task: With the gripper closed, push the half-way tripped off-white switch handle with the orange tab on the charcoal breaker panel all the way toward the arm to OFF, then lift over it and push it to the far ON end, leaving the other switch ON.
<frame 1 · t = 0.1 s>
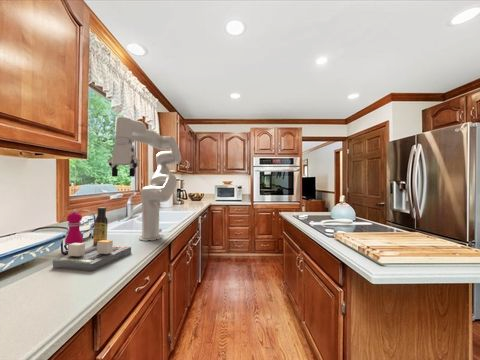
hand: (123, 176, 110), 37 cm above the countertop, tool pointing down, fingers open, 9 cm apart
tripped switch: (104, 246, 95), point 6 cm above the countertop, slide at 0.0 cm
pepper mill: (74, 250, 110), on the countertop
breaker panel: (95, 259, 96), on the countertop
sauce bottle: (100, 244, 121), on the countertop
on switch: (76, 249, 92), point 6 cm above the countertop, slide at 5.0 cm
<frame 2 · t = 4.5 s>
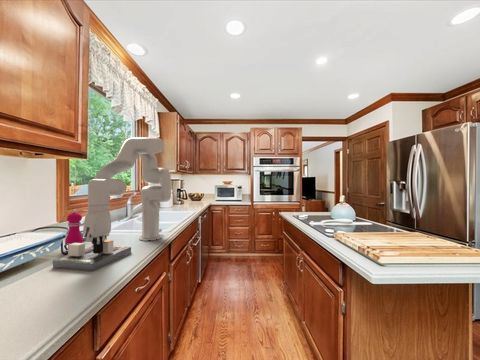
hand: (98, 252, 91), 4 cm above the countertop, tool pointing down, fingers closed
tripped switch: (105, 246, 95), point 6 cm above the countertop, slide at -0.5 cm, touching gripper
everything else where it was.
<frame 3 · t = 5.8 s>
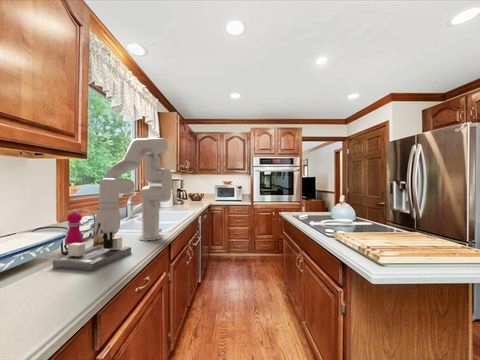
hand: (108, 248, 97), 5 cm above the countertop, tool pointing down, fingers closed
tripped switch: (114, 243, 101), point 6 cm above the countertop, slide at -5.7 cm, touching gripper
everything else where it was.
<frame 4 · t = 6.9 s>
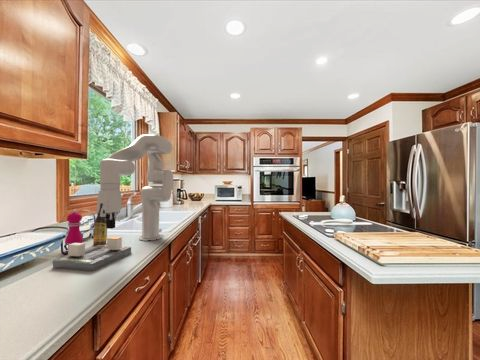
hand: (110, 228, 98), 13 cm above the countertop, tool pointing down, fingers closed
tripped switch: (114, 243, 100), point 6 cm above the countertop, slide at -5.6 cm
everything else where it was.
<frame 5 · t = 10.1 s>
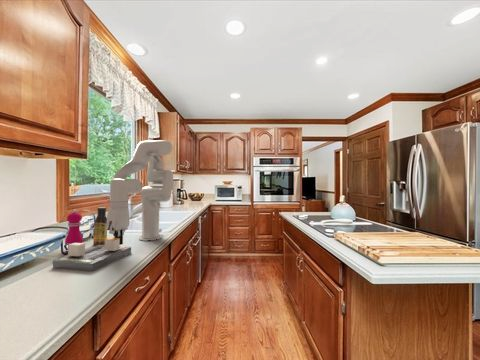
hand: (118, 244, 103), 5 cm above the countertop, tool pointing down, fingers closed
tripped switch: (112, 244, 99), point 6 cm above the countertop, slide at -4.2 cm, touching gripper
everything else where it was.
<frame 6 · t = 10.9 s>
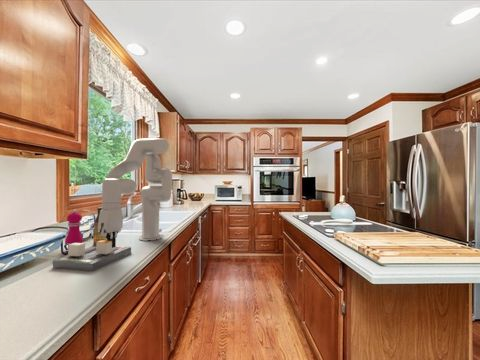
hand: (111, 247, 98), 5 cm above the countertop, tool pointing down, fingers closed
tripped switch: (104, 247, 95), point 6 cm above the countertop, slide at 0.4 cm, touching gripper
everything else where it was.
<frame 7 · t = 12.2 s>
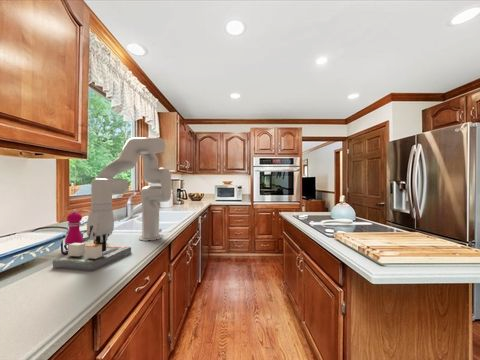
hand: (101, 250, 93), 5 cm above the countertop, tool pointing down, fingers closed
tripped switch: (93, 250, 89), point 6 cm above the countertop, slide at 5.9 cm, touching gripper
everything else where it was.
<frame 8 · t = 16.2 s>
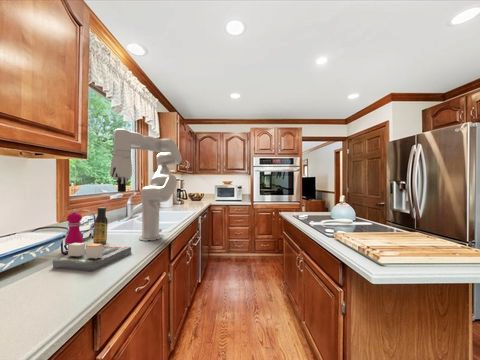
hand: (121, 191, 108), 29 cm above the countertop, tool pointing down, fingers closed
tripped switch: (94, 250, 90), point 6 cm above the countertop, slide at 5.6 cm
everything else where it was.
at the end: tripped switch slide at 5.6 cm; on switch slide at 5.0 cm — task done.
